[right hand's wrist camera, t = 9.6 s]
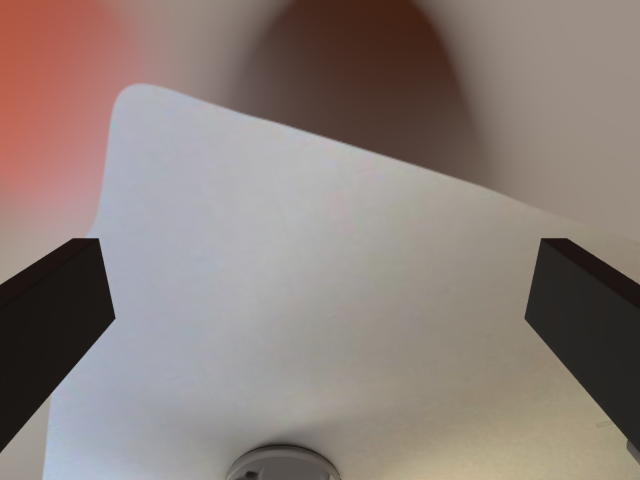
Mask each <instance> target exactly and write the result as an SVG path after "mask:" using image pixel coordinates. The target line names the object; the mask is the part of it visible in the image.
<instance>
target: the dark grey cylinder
mask: <svg viewBox="0 0 640 480" xmlns="http://www.w3.org/2000/svg"><path fill="white" fill-rule="evenodd" d="M627 449H628V451H629V452H630V453H631V455H632V456H633V457H634V458H635V459H636V461H637V462H638V463H639V464H640V453H639V451H638V450H637V449H636V448H635V447H634V446H633V444H632V443H631V442H630V441H629V440H628V443H627Z"/></svg>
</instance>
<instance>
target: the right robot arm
mask: <svg viewBox="0 0 640 480" xmlns="http://www.w3.org/2000/svg"><path fill="white" fill-rule="evenodd" d="M115 319H116V318H115V313H114V309H113V304H112V299H111V294H110V290H109V285H108V280H107V275H106V271H105V266H104V261H103V256H102V252H101V247H100V242H99V238H73V239H71V240H69V241H68V242H66V243H65V244H63V245H62V246H60V247H59V248H57V249H55V250H54V251H52V252H51V253H49V254H48V255H46V256H45V257H43V258H41V259H40V260H38V261H37V262H35V263H34V264H32V265H30V266H29V267H27V268H26V269H24V270H23V271H21V272H20V273H18V274H17V275H15V276H13V277H12V278H10V279H9V280H7V281H5V282H4V283H2V284H1V285H0V453H1V451H2V450H3V449H4V448H5V447H6V446H7V444H8V443H9V442H10V441H11V440H12V439H13V437H14V436H15V435H16V434H17V433H18V432H19V430H20V429H21V428H22V427H23V426H24V425H25V423H26V422H27V421H28V420H29V419H30V418H31V416H32V415H33V414H34V413H35V412H36V411H37V409H38V408H39V407H40V406H41V405H42V404H43V402H44V401H45V400H46V399H47V398H48V397H49V396H50V394H51V393H52V392H53V391H54V390H55V389H56V387H57V386H58V385H59V384H60V383H61V382H62V380H63V379H64V378H65V377H66V376H67V375H68V373H69V372H70V371H71V370H72V369H73V368H74V366H75V365H76V364H77V363H78V362H79V361H80V359H81V358H82V357H83V356H84V355H85V354H86V352H87V351H88V350H89V349H90V348H91V347H92V345H93V344H94V343H95V342H96V341H97V340H98V338H99V337H100V336H101V335H102V334H103V333H104V331H105V330H106V329H107V328H108V327H109V326H110V324H111V323H112V322H113V321H114V320H115ZM524 319H525V320H526V321H527V322H528V323H529V324H530V326H531V327H532V328H533V329H534V330H535V331H536V333H537V334H538V335H539V336H540V337H541V338H542V340H543V341H544V342H545V343H546V344H547V345H548V347H549V348H550V349H551V350H552V351H553V352H554V354H555V355H556V356H557V357H558V358H559V359H560V361H561V362H562V363H563V364H564V365H565V366H566V368H567V369H568V370H569V371H570V372H571V373H572V375H573V376H574V377H575V378H576V379H577V380H578V382H579V383H580V384H581V385H582V386H583V387H584V389H585V390H586V391H587V392H588V393H589V394H590V396H591V397H592V398H593V399H594V400H595V401H596V402H597V404H598V405H599V406H600V407H601V408H602V409H603V411H604V412H605V413H606V414H607V415H608V416H609V418H610V419H611V420H612V421H613V422H614V423H615V425H616V426H617V427H618V428H619V429H620V430H621V432H622V433H623V434H624V435H625V436H626V437H627V439H628V440H629V441H630V442H631V443H632V444H633V446H634V447H635V448H636V449H637V450H638V451H639V453H640V285H639V284H638V283H636V282H635V281H633V280H631V279H630V278H628V277H627V276H625V275H624V274H622V273H620V272H619V271H617V270H616V269H614V268H613V267H611V266H610V265H608V264H606V263H605V262H603V261H602V260H600V259H599V258H597V257H596V256H594V255H592V254H591V253H589V252H588V251H586V250H585V249H583V248H581V247H580V246H578V245H577V244H575V243H574V242H572V241H571V240H569V239H567V238H541V242H540V247H539V252H538V256H537V261H536V266H535V271H534V275H533V280H532V285H531V290H530V294H529V299H528V304H527V309H526V313H525V318H524ZM225 480H340V477H339V475H338V473H337V471H336V470H335V468H334V467H333V466H332V465H331V464H330V463H329V462H328V461H327V460H326V459H324V458H323V457H321V456H320V455H318V454H316V453H314V452H312V451H309V450H306V449H303V448H299V447H294V446H269V447H263V448H259V449H256V450H253V451H251V452H249V453H247V454H245V455H243V456H242V457H240V458H239V459H238V460H237V461H236V462H235V463H234V464H233V465H232V466H231V468H230V469H229V471H228V473H227V476H226V479H225Z"/></svg>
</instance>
